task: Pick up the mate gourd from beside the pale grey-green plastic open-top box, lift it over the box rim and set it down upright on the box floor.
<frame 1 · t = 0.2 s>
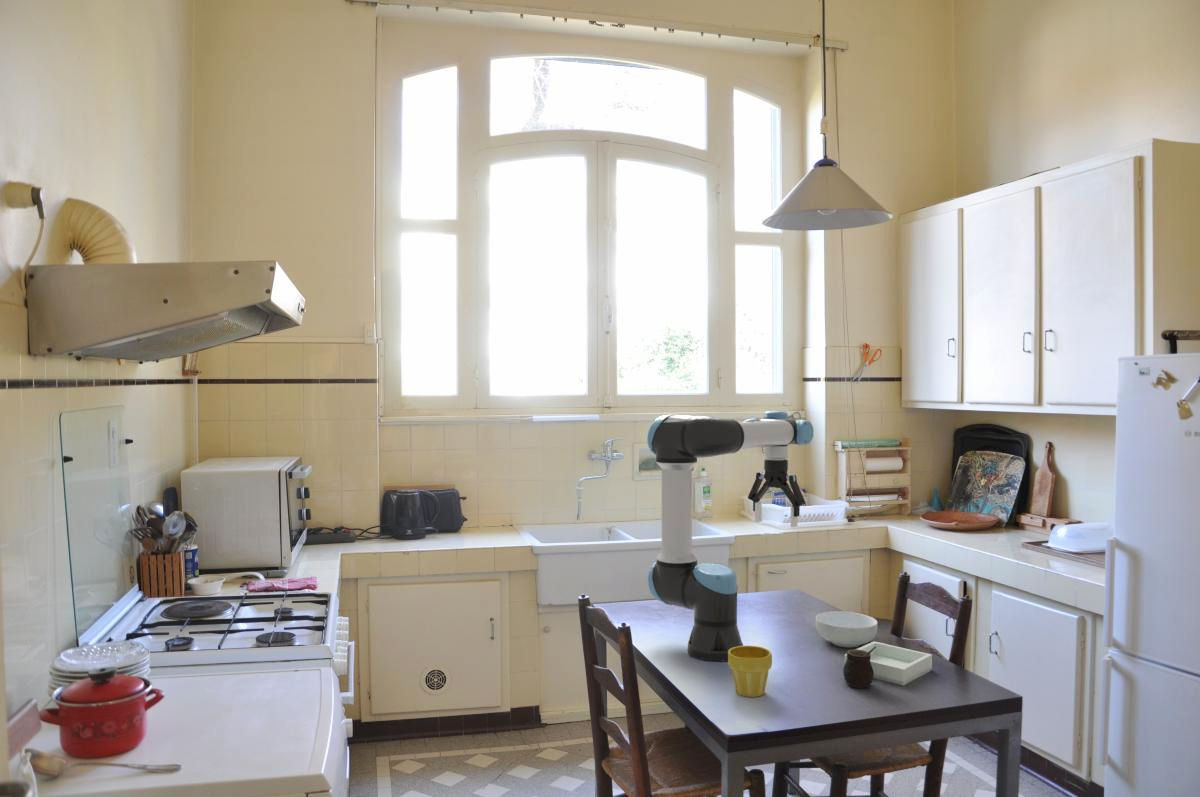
hand: (775, 524, 277), 28 cm above the table, tool pointing down, fingers open, 13 cm apart
plant pot: (749, 693, 204), on the table
cereal bowl: (846, 644, 242), on the table
mate gourd: (859, 685, 209), on the table
open box: (887, 670, 219), on the table
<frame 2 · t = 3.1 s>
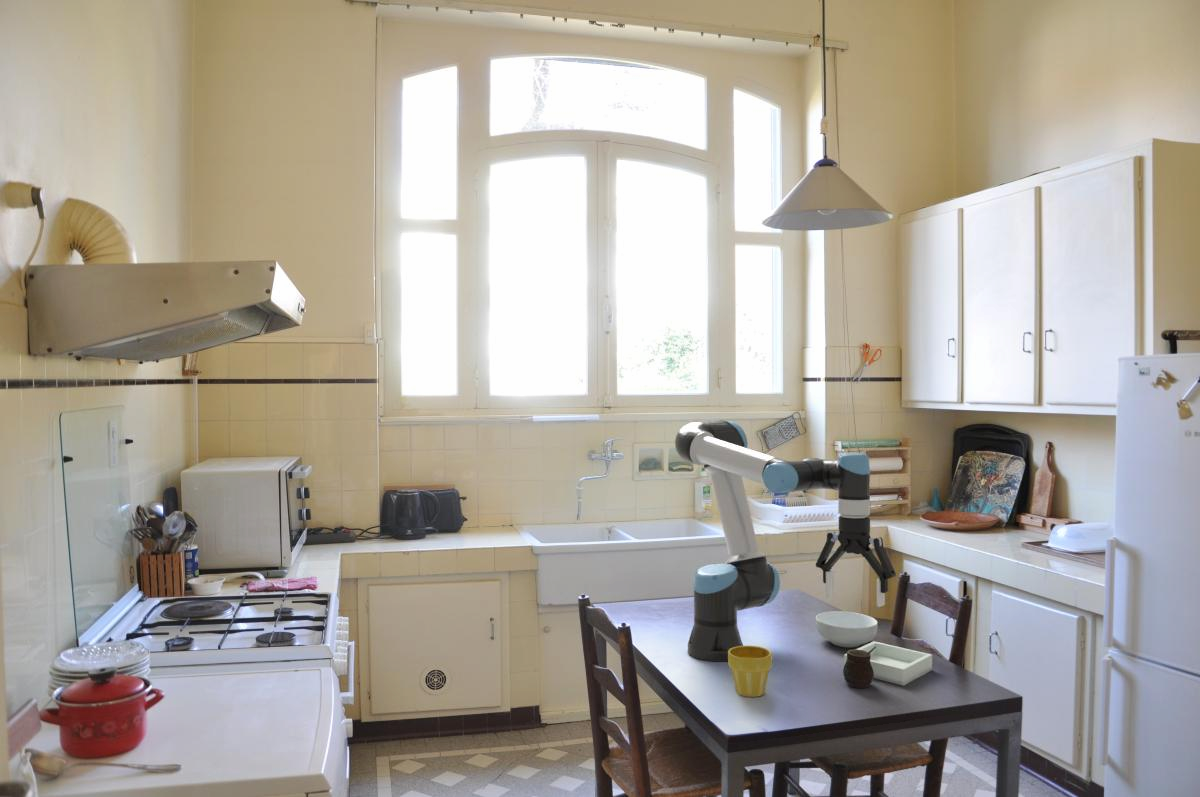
hand: (854, 601, 212), 20 cm above the table, tool pointing down, fingers open, 13 cm apart
nothing on the table moved.
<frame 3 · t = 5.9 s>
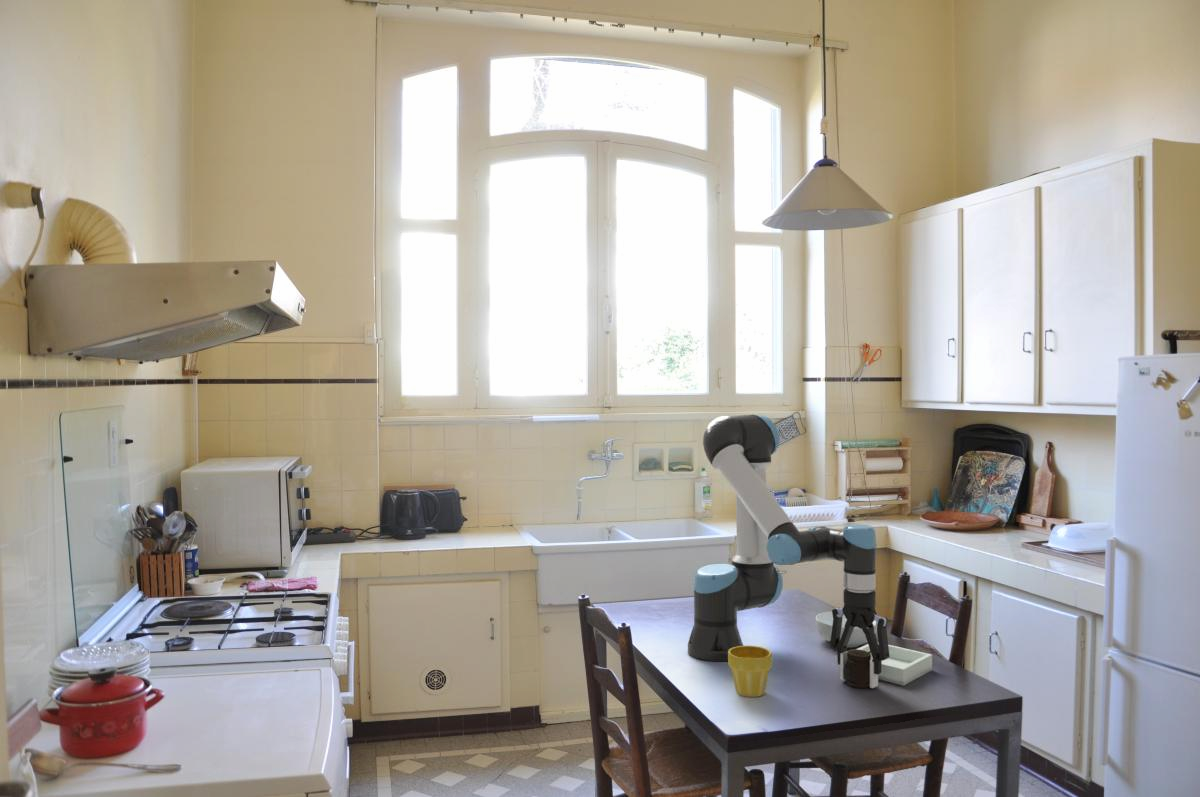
hand: (859, 682, 209), 1 cm above the table, tool pointing down, fingers closed on mate gourd, 7 cm apart
mate gourd: (859, 685, 209), on the table, touching gripper
everything else where it was.
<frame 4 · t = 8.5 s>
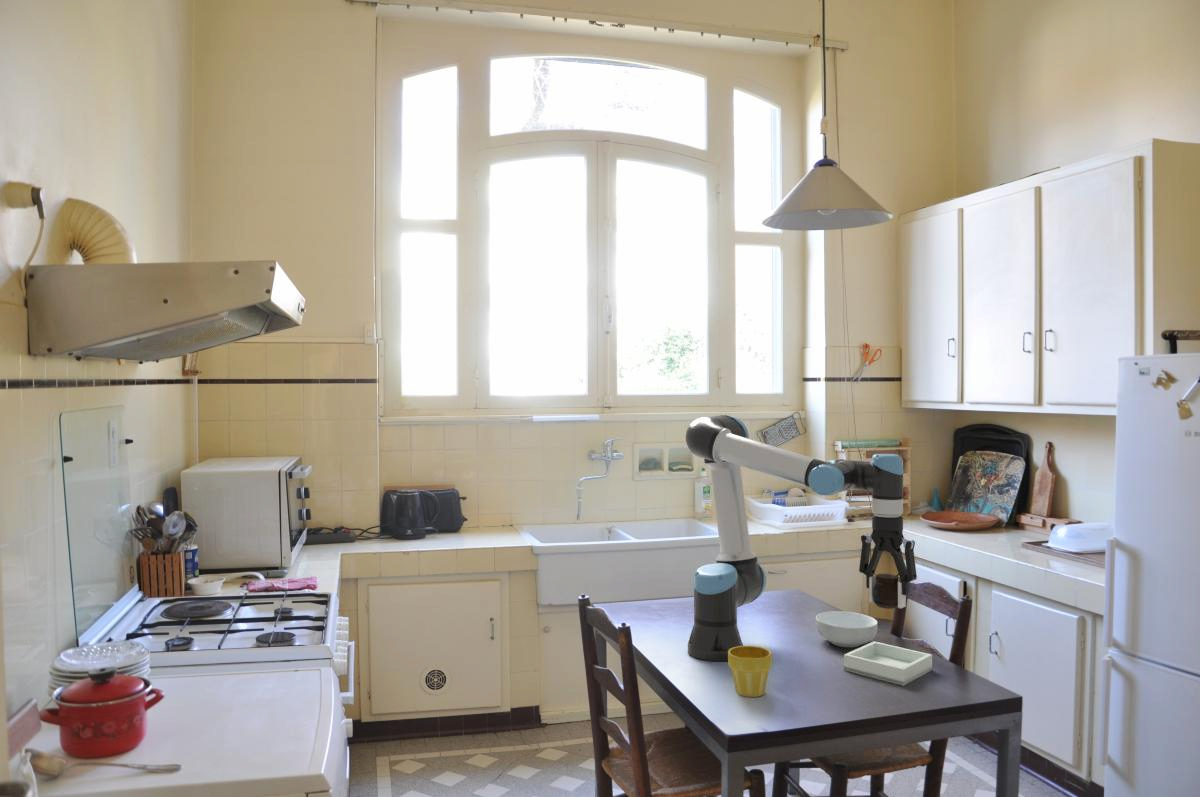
hand: (887, 604, 218), 17 cm above the table, tool pointing down, fingers closed on mate gourd, 7 cm apart
mate gourd: (887, 607, 218), point 16 cm above the table, touching gripper
everything else where it was.
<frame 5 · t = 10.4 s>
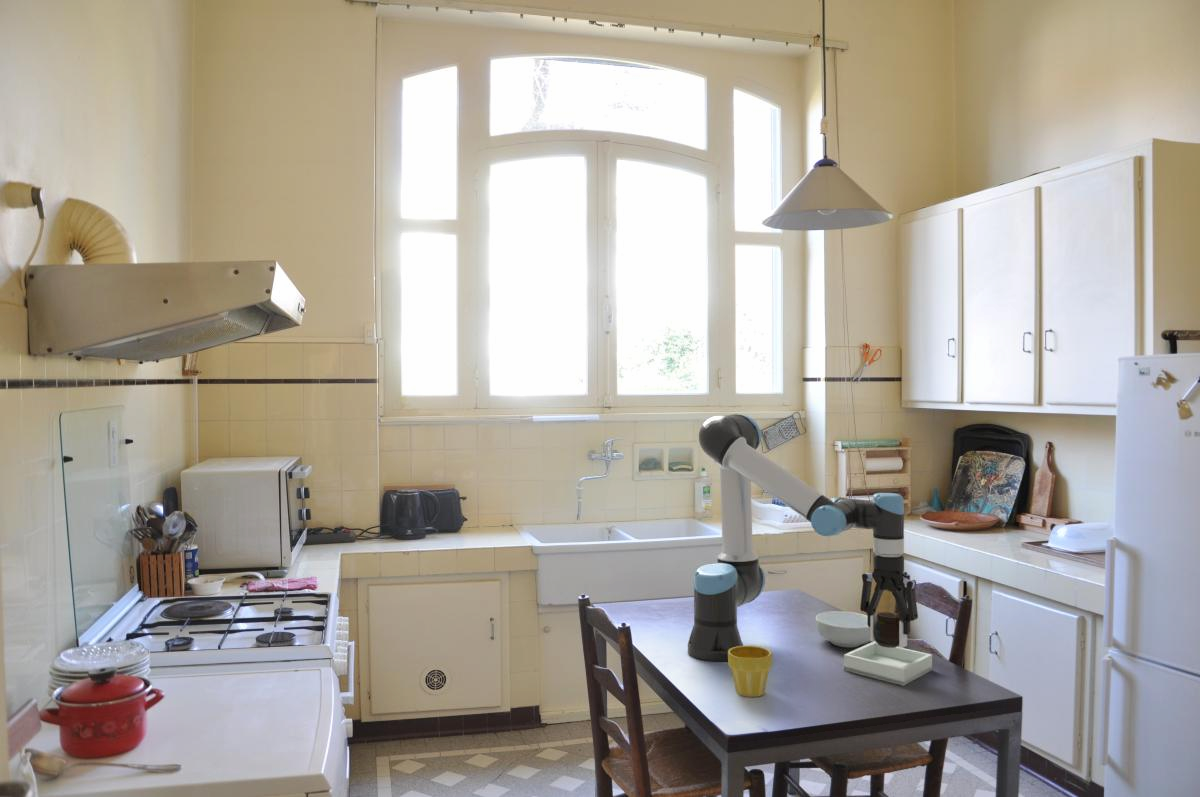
hand: (888, 642, 219), 7 cm above the table, tool pointing down, fingers closed on mate gourd, 7 cm apart
mate gourd: (888, 646, 219), point 6 cm above the table, touching gripper
everything else where it was.
when the fingers open (4 cm above the table, at t = 11.4 s): mate gourd drops 2 cm, resting on open box.
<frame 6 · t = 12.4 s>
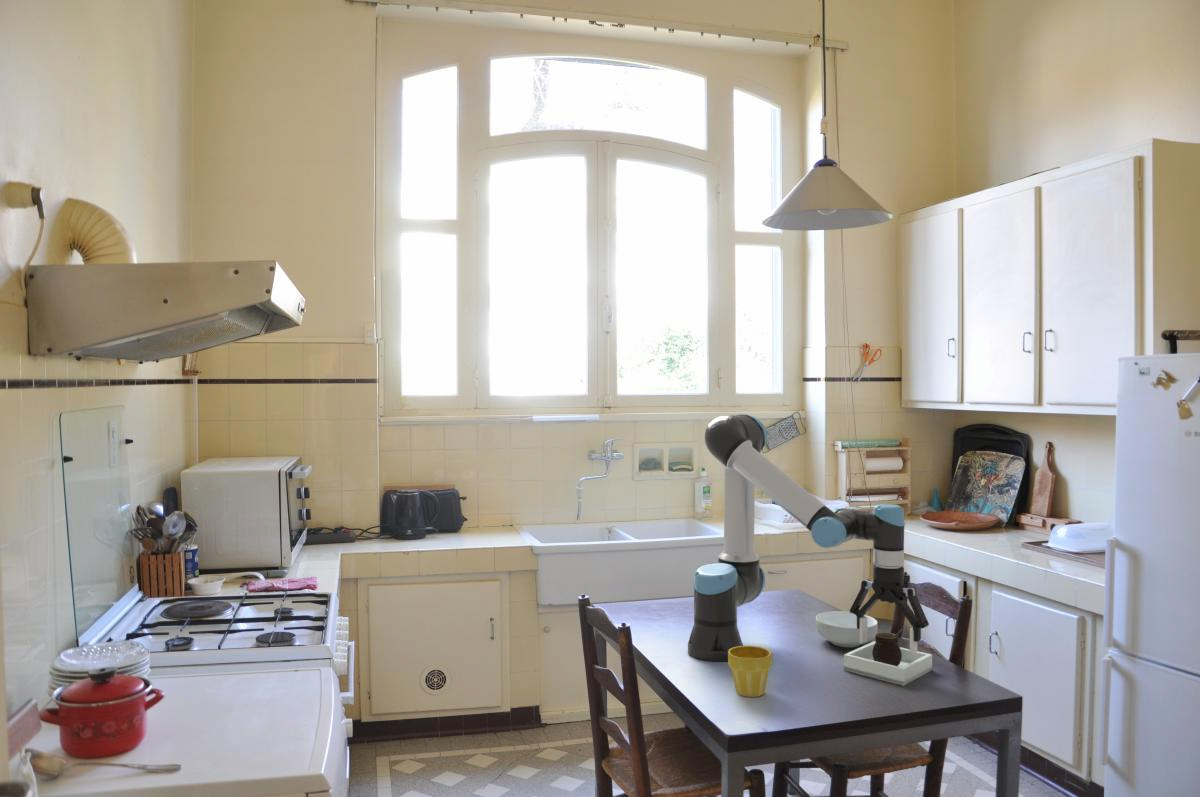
hand: (887, 647, 219), 6 cm above the table, tool pointing down, fingers open, 13 cm apart
mate gourd: (888, 666, 219), point 1 cm above the table, touching open box
everything else where it was.
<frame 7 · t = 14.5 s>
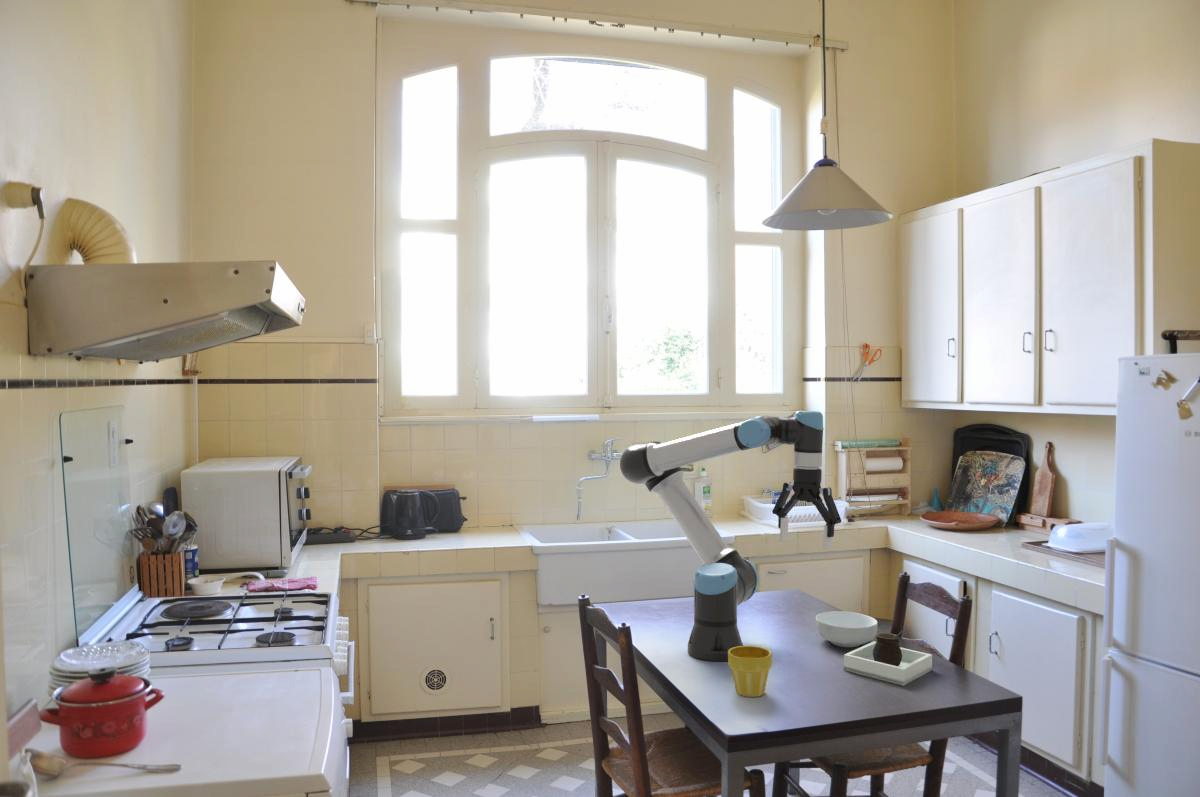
hand: (804, 544, 234), 29 cm above the table, tool pointing down, fingers open, 13 cm apart
nothing on the table moved.
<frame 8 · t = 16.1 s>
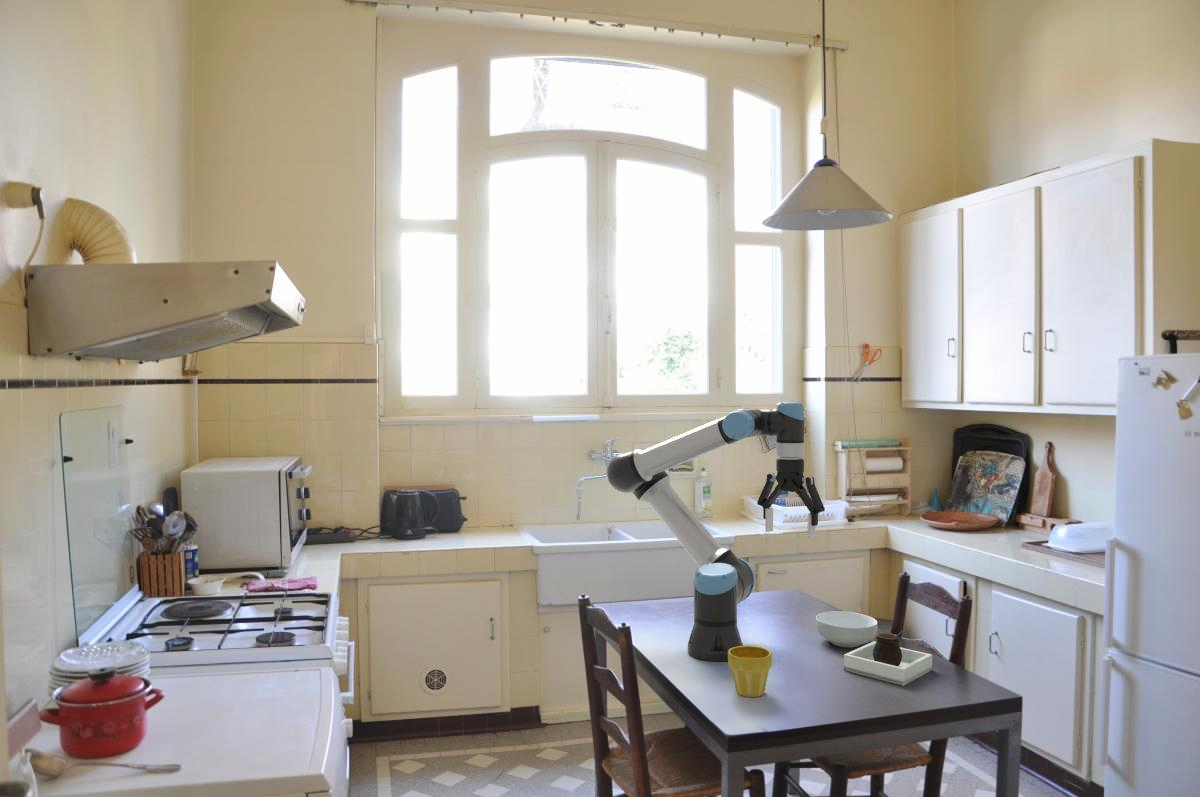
hand: (789, 534, 237), 32 cm above the table, tool pointing down, fingers open, 13 cm apart
nothing on the table moved.
at the end: mate gourd inside the target area on the open box (0.0 cm from its centre), point 0.8 cm above the open box's base; mate gourd tilted 0°; the gripper is holding nothing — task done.
